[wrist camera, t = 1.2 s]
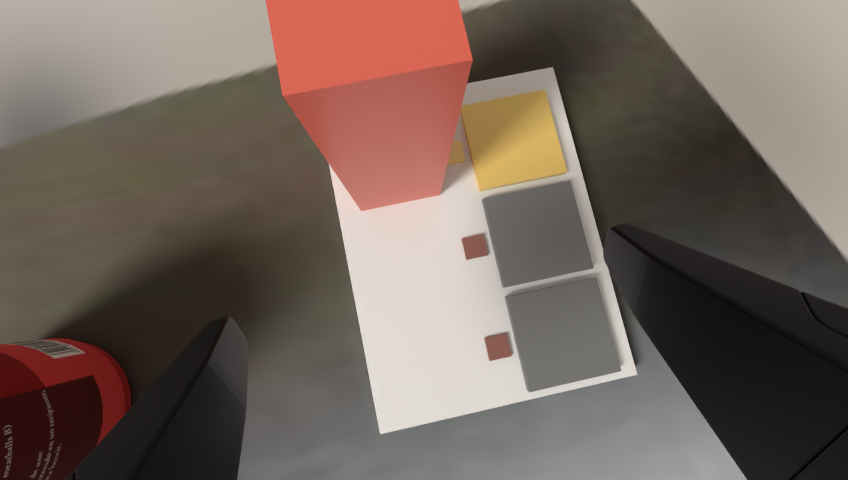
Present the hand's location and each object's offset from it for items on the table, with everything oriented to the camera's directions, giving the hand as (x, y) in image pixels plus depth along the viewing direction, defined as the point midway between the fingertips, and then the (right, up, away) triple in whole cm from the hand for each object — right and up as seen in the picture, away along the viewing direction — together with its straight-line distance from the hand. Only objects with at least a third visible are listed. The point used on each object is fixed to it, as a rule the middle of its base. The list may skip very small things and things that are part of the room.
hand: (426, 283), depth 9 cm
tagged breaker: (+5, +7, +14) cm, 16 cm away
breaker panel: (+3, +1, +13) cm, 14 cm away
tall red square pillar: (-2, +5, +13) cm, 14 cm away
